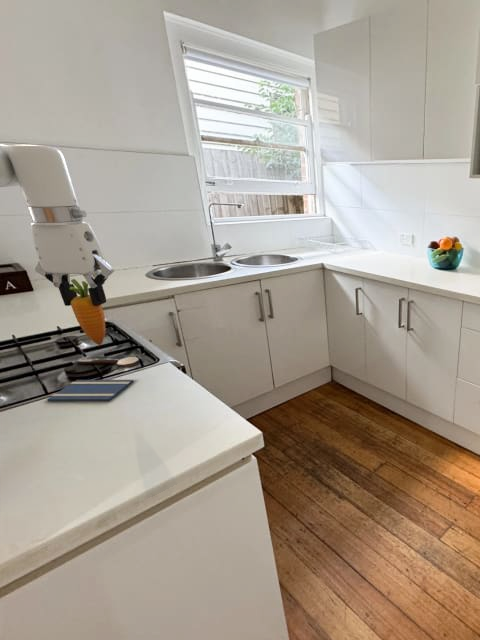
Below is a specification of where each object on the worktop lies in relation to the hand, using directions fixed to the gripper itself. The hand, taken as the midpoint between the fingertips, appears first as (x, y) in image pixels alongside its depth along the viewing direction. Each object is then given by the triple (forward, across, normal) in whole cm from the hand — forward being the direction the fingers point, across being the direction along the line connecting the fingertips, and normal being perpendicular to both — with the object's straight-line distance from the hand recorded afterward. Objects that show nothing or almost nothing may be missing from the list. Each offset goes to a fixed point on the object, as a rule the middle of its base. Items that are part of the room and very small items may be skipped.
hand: (86, 303), depth 82 cm
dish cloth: (+17, -2, +8) cm, 19 cm away
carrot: (+10, 0, 0) cm, 10 cm away
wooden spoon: (+17, +3, -5) cm, 18 cm away
